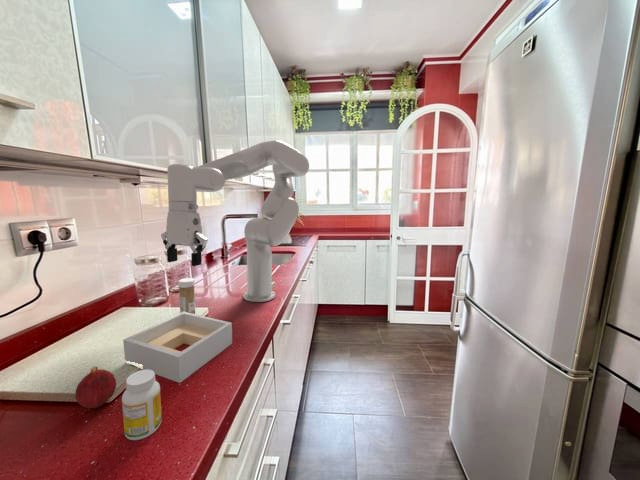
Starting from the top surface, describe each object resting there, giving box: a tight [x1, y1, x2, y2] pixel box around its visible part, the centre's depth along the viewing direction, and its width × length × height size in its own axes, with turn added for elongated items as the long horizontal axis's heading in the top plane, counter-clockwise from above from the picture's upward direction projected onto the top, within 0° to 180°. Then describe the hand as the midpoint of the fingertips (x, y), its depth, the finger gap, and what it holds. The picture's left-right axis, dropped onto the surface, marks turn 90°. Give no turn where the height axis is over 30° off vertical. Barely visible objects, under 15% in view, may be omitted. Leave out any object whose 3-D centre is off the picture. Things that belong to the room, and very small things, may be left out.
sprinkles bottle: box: [177, 277, 196, 314], centre depth 83 cm, size 5×5×14 cm
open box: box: [122, 312, 233, 384], centre depth 67 cm, size 17×17×6 cm
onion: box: [75, 365, 117, 409], centre depth 49 cm, size 6×6×8 cm
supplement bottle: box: [121, 369, 163, 441], centre depth 45 cm, size 5×5×10 cm
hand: (184, 263), depth 81 cm, fingers open, 9 cm apart
